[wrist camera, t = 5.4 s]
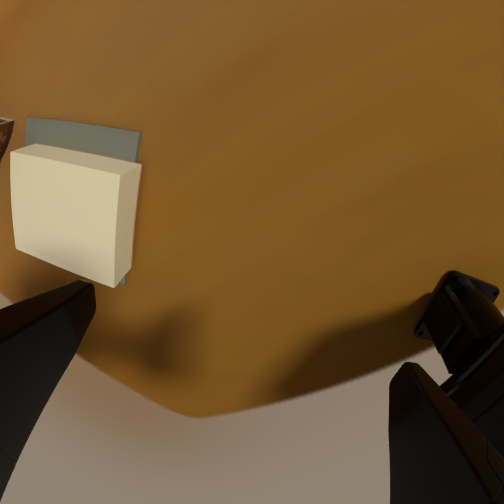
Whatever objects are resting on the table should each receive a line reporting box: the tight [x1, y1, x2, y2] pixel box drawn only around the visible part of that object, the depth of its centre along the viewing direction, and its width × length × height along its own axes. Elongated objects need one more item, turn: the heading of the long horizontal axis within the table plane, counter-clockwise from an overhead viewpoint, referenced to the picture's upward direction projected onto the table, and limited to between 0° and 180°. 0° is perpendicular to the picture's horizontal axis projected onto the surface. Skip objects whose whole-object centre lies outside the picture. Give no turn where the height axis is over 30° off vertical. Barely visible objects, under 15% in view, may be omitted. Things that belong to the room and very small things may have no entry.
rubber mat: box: [24, 117, 141, 285], centre depth 20 cm, size 11×12×1 cm
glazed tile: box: [10, 143, 142, 288], centre depth 19 cm, size 3×8×10 cm
